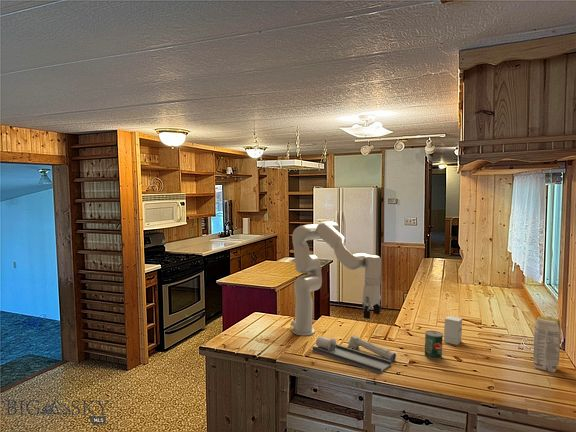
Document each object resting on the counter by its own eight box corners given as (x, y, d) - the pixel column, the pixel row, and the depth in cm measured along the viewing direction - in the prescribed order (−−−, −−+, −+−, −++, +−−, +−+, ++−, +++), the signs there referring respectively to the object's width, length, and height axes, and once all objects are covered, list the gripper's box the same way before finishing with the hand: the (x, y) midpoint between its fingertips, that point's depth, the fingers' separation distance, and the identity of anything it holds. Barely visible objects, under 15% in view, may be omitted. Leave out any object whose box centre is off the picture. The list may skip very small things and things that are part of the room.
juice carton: (559, 368, 174) (562, 316, 173) (556, 374, 168) (559, 320, 167) (535, 362, 180) (537, 311, 179) (531, 367, 175) (534, 315, 173)
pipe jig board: (312, 351, 189) (312, 337, 188) (325, 345, 197) (325, 332, 197) (380, 374, 165) (380, 358, 165) (391, 365, 174) (391, 351, 173)
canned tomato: (440, 360, 181) (441, 337, 180) (423, 356, 184) (424, 334, 184) (443, 354, 188) (443, 332, 187) (426, 351, 191) (426, 329, 191)
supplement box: (458, 345, 200) (459, 321, 199) (443, 342, 205) (444, 318, 204) (461, 341, 206) (462, 318, 205) (447, 338, 210) (448, 315, 210)
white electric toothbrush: (391, 354, 177) (347, 333, 194) (389, 368, 178) (345, 346, 195) (397, 351, 181) (353, 331, 198) (395, 364, 182) (351, 343, 199)
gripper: (374, 277, 195) (373, 310, 196) (356, 282, 182) (355, 318, 183) (387, 279, 190) (386, 313, 191) (371, 285, 177) (370, 322, 178)
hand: (371, 316), depth 187 cm, fingers open, 9 cm apart
